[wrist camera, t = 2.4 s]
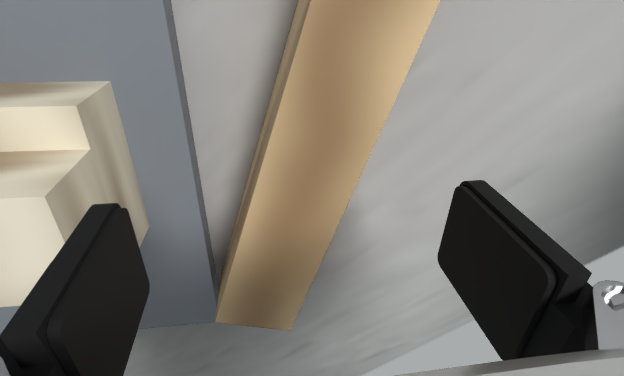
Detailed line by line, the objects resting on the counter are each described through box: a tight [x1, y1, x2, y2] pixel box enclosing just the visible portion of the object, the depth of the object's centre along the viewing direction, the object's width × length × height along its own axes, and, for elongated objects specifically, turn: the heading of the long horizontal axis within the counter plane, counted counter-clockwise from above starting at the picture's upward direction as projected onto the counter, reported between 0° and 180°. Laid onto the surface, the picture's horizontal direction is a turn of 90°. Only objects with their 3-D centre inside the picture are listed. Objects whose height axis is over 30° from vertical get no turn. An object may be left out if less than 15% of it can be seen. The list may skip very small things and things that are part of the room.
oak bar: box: [215, 0, 440, 331], centre depth 16 cm, size 4×20×4 cm, turn 161°
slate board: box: [0, 0, 219, 334], centre depth 16 cm, size 14×22×1 cm, turn 179°
